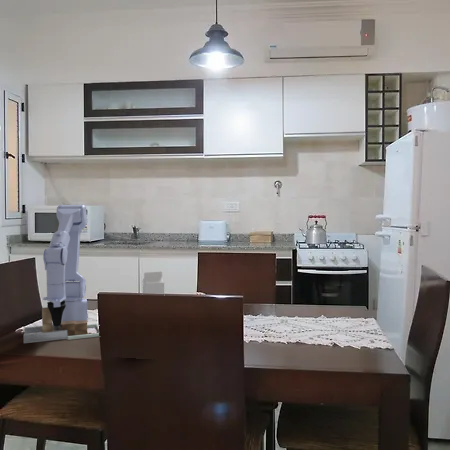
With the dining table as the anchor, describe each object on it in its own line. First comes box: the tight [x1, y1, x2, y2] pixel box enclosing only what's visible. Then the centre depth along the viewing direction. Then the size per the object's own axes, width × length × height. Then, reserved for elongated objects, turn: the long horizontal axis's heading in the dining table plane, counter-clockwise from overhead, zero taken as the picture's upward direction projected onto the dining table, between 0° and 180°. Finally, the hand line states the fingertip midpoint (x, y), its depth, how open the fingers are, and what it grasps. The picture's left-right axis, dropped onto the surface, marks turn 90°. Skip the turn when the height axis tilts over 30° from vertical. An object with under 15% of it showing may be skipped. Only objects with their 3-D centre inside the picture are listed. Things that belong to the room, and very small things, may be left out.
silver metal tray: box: [22, 324, 68, 344], centre depth 150 cm, size 13×10×3 cm
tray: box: [67, 323, 100, 341], centre depth 154 cm, size 11×13×2 cm
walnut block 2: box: [74, 320, 88, 336], centre depth 154 cm, size 4×4×4 cm
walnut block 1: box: [61, 320, 75, 337], centre depth 152 cm, size 4×4×4 cm
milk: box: [142, 271, 165, 295], centre depth 150 cm, size 6×6×22 cm
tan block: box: [41, 307, 62, 332], centre depth 150 cm, size 6×5×9 cm
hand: (56, 324), depth 151 cm, fingers closed on tan block, 3 cm apart
